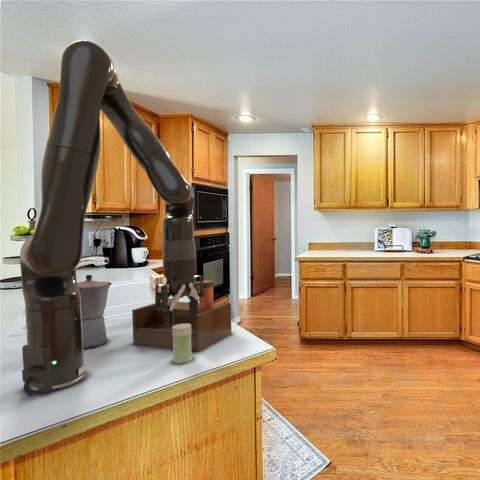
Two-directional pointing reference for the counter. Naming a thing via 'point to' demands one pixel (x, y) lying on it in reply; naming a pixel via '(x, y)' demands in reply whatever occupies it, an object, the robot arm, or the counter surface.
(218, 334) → the spice rack
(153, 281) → the beer glass
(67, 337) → the robot arm
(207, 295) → the pepper shaker
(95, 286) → the moka pot
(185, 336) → the cylinder
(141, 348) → the counter surface
